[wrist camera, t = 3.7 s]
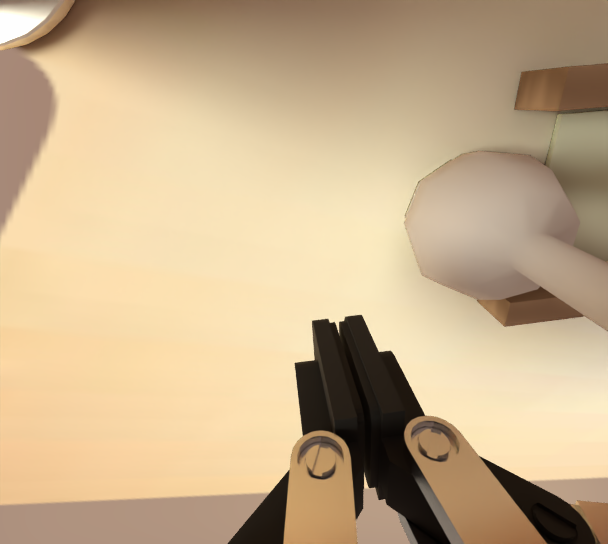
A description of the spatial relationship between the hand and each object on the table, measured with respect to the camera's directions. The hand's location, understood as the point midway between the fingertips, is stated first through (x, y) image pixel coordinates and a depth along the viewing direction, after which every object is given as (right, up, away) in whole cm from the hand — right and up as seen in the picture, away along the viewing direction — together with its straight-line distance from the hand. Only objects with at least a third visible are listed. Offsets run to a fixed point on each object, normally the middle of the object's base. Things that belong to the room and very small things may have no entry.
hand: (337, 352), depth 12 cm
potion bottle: (+9, +7, +12) cm, 17 cm away
